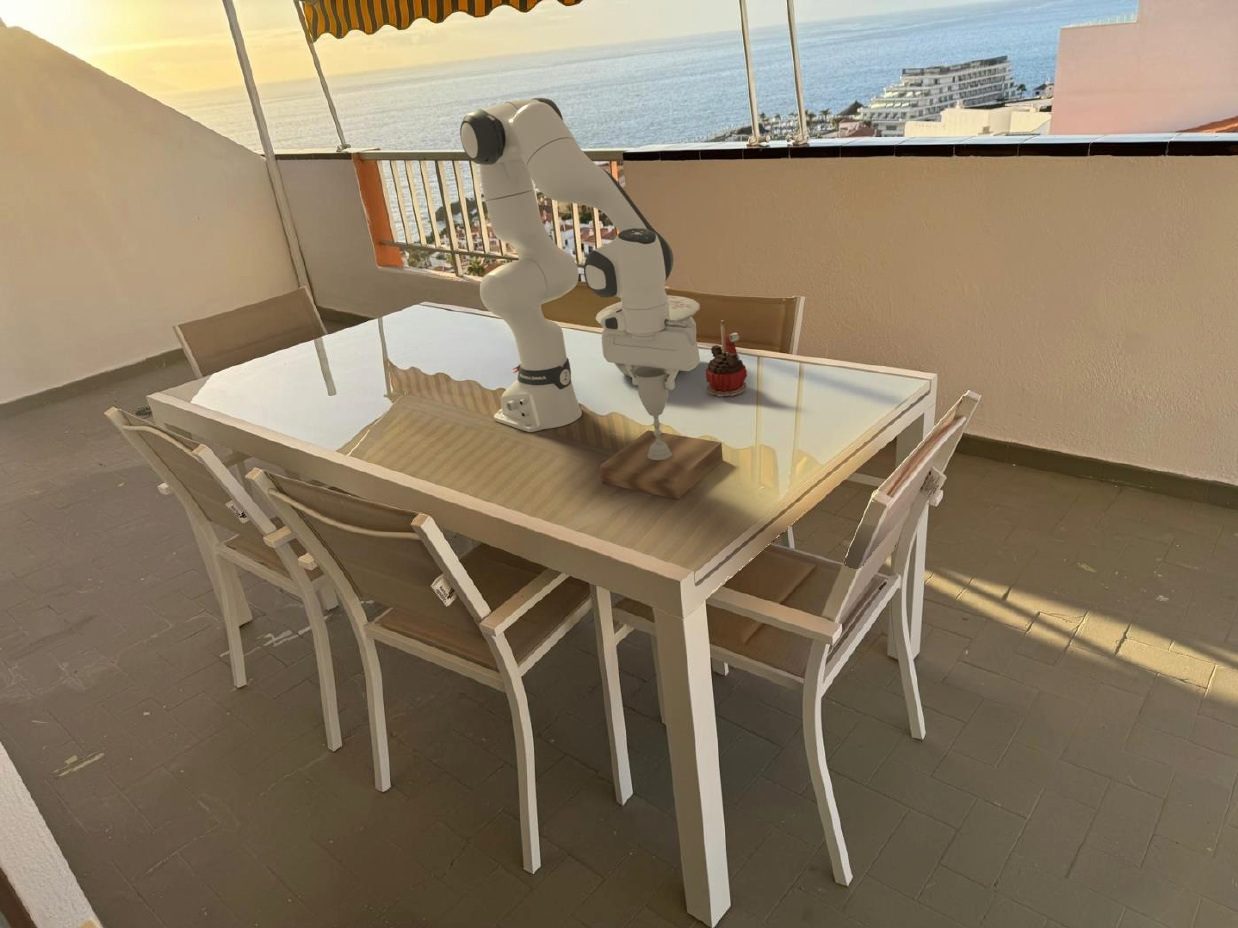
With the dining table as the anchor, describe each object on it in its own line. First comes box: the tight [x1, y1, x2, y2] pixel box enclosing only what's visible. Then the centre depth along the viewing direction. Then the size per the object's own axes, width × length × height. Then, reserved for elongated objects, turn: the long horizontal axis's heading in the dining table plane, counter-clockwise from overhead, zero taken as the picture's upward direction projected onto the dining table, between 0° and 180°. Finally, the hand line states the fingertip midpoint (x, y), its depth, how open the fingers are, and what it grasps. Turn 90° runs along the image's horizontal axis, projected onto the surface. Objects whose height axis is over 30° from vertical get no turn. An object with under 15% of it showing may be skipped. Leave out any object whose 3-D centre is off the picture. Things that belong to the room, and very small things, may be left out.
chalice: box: [634, 366, 672, 460], centre depth 167 cm, size 7×7×18 cm
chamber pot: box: [595, 294, 701, 378], centre depth 223 cm, size 28×28×21 cm
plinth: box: [599, 429, 724, 500], centre depth 172 cm, size 18×18×4 cm
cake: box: [705, 319, 748, 397], centre depth 204 cm, size 11×9×18 cm
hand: (653, 386), depth 165 cm, fingers closed on chalice, 6 cm apart
